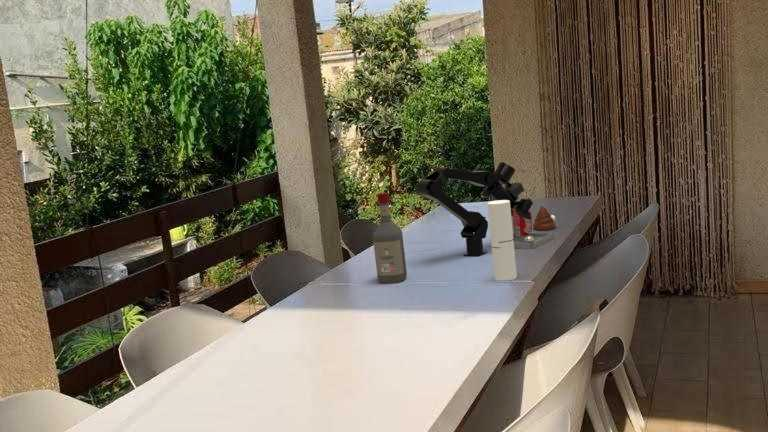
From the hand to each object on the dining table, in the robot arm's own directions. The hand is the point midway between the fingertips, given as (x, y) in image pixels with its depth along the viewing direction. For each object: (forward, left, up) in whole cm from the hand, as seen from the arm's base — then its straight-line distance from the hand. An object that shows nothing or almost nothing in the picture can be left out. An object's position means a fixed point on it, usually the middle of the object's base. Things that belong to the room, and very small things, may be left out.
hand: (524, 217), depth 327 cm
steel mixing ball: (-9, -6, -8) cm, 13 cm away
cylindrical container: (-52, -19, -9) cm, 56 cm away
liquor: (-62, +19, -9) cm, 66 cm away
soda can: (-1, +1, -7) cm, 7 cm away
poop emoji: (+23, +3, -9) cm, 25 cm away
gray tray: (-3, -1, -9) cm, 10 cm away
